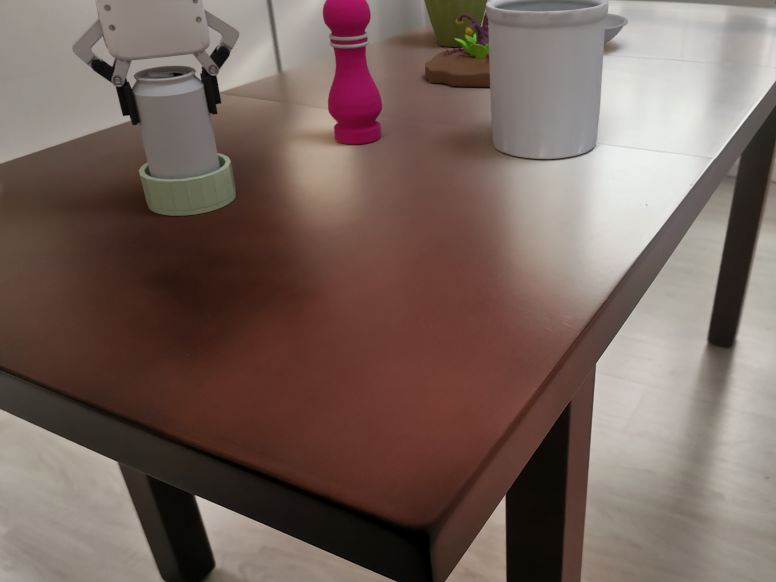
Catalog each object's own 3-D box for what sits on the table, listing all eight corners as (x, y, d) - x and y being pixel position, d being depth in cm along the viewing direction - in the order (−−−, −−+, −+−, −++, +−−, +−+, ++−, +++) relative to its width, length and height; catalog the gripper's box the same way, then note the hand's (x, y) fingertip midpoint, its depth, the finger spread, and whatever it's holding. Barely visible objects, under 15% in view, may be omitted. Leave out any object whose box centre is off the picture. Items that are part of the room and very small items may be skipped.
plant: (521, 92, 128) (522, 17, 122) (410, 83, 135) (406, 12, 129) (557, 64, 144) (559, -3, 138) (456, 58, 150) (454, -7, 145)
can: (231, 182, 90) (211, 71, 84) (164, 197, 86) (137, 83, 80) (208, 164, 95) (188, 59, 89) (144, 178, 92) (118, 69, 85)
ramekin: (152, 222, 86) (143, 186, 84) (143, 192, 94) (134, 159, 92) (244, 206, 90) (237, 171, 88) (227, 178, 97) (221, 146, 95)
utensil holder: (464, 148, 105) (461, 4, 96) (527, 120, 115) (529, -13, 106) (560, 169, 98) (567, 15, 88) (619, 138, 108) (631, -4, 98)
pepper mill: (336, 130, 113) (319, -26, 103) (387, 129, 113) (376, -27, 103) (327, 146, 107) (308, -18, 97) (381, 145, 107) (368, -19, 96)
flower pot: (436, 34, 170) (433, -50, 161) (503, 38, 165) (504, -49, 157) (408, 49, 158) (403, -41, 149) (480, 53, 154) (479, -40, 145)
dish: (617, 60, 146) (619, 31, 144) (540, 56, 150) (541, 28, 148) (632, 40, 160) (634, 13, 158) (561, 37, 164) (562, 11, 162)
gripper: (220, -75, 83) (247, 98, 93) (36, -65, 78) (86, 118, 87) (233, -70, 78) (262, 114, 87) (36, -59, 72) (89, 137, 81)
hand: (173, 115), depth 87 cm, fingers closed on can, 7 cm apart
